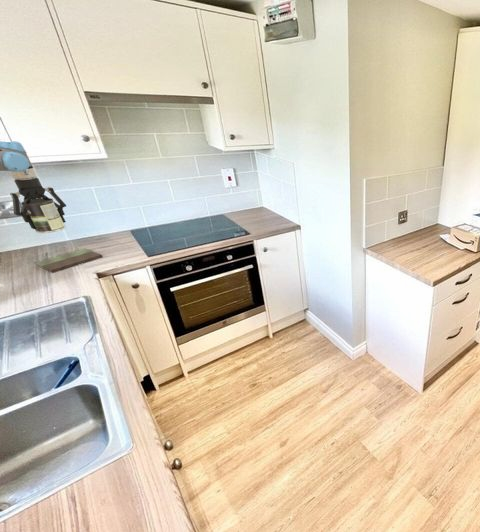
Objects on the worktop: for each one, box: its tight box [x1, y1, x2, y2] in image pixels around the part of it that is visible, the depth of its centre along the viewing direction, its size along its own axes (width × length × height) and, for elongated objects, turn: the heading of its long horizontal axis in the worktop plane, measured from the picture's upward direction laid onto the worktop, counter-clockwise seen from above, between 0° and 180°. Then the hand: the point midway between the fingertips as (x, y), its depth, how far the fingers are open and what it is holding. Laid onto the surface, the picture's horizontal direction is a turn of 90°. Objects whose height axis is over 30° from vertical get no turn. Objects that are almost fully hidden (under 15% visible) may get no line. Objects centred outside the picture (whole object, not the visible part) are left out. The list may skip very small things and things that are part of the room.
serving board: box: [35, 248, 103, 274], centre depth 162 cm, size 20×16×2 cm
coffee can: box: [20, 197, 66, 234], centre depth 152 cm, size 10×10×14 cm
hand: (49, 225), depth 154 cm, fingers closed on coffee can, 10 cm apart
